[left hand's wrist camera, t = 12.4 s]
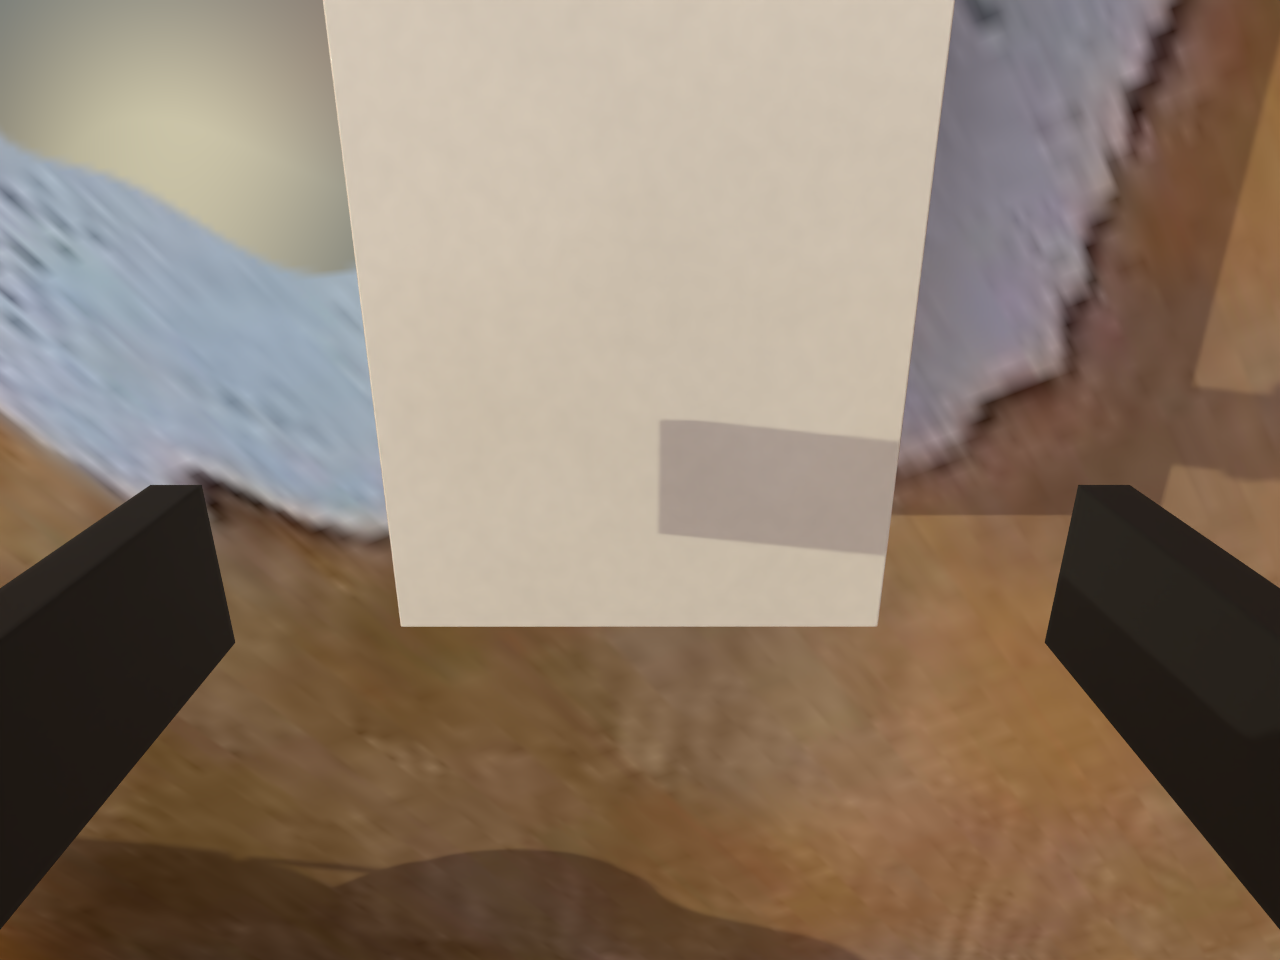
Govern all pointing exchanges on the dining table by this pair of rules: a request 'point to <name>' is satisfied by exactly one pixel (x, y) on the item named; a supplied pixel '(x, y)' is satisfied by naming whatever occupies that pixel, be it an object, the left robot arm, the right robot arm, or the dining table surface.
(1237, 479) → the dining table surface
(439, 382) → the beige cardboard box
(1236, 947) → the dining table surface
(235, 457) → the dining table surface
